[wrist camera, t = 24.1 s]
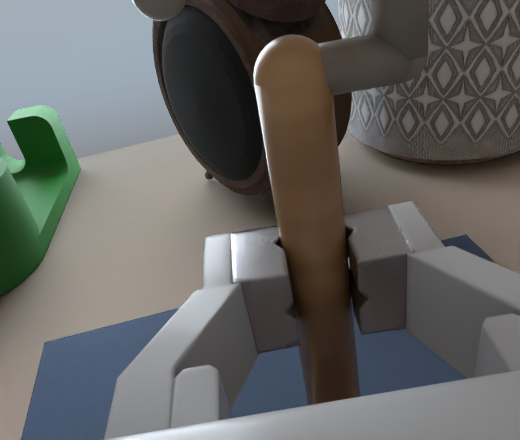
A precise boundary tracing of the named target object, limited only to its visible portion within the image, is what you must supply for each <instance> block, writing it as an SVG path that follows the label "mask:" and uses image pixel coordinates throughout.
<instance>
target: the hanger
mask: <svg viewBox="0 0 520 440" xmlns="http://www.w3.org/2000/svg"><path fill="white" fill-rule="evenodd" d="M186 1H187V0H133V2H134V4H135V6H136V7H137V9H138V10H139V11H140V12H141V13H142V14H143V15H145V16H146V17H148V18H150V19H153V20H157V21H165V20H169V19H172V18H174V17H176V16H177V15H178V14H179V13H180V12H181V11H182V10H183V8H184V6H185V4H186ZM371 7H372V28H373V33H372V34H367V35H361V36H356V37H351V38H345V39H340V40H334V41H329V42H323V43H318V44H317V43H316V42H315V41H313V40H311V39H310V38H307V37H305V36H302V35H294V34H291V35H284V36H281V37H278V38H276V39H274V40H272V41H271V42H270V43H269V44H267V45H266V46H265V47H264V49H263V50H262V51H261V52H260V54H259V56H258V58H257V60H256V63H255V67H254V74H253V77H254V86H255V92H256V98H257V104H258V110H259V116H260V122H261V128H262V134H263V140H264V146H265V152H266V158H267V164H268V170H269V176H270V182H271V188H272V194H273V199H274V205H275V211H276V217H277V223H278V229H279V235H280V241H281V247H282V249H284V250H285V256H286V261H287V267H288V272H289V277H290V283H291V289H292V295H293V300H294V308H295V314H296V319H297V325H298V332H299V338H300V345H301V346H298V348H299V354H300V360H301V366H302V372H303V378H304V384H305V390H306V396H307V402H308V405H314V404H320V403H325V402H331V401H337V400H343V399H349V398H355V397H360V386H359V375H358V364H357V353H356V342H355V330H354V319H353V308H352V297H351V286H350V275H349V264H348V253H347V242H346V231H345V220H344V209H343V198H342V187H341V176H340V165H339V154H338V143H337V132H336V121H335V109H334V98H333V95H338V94H344V93H349V92H355V91H360V90H366V89H371V88H377V87H382V86H388V85H393V84H399V83H404V82H408V81H410V80H412V79H414V78H415V77H417V76H418V75H419V74H420V73H421V72H422V70H423V69H424V67H425V65H426V62H427V59H428V0H371Z"/></svg>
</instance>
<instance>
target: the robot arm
mask: <svg viewBox="0 0 520 440" xmlns="http://www.w3.org/2000/svg"><path fill="white" fill-rule="evenodd" d="M344 220H345V231H346V242H347V253H348V264H349V275H350V286H351V297H352V305H353V312H354V315H355V318H356V321H357V323H358V326H359V329H360V332H361V335H366V334H373V333H380V332H387V331H394V330H401V329H406V331H407V332H408V333H409V334H411V335H412V336H413V337H414V338H416V339H417V340H418V341H420V342H421V343H422V344H424V345H425V346H426V347H427V348H429V349H430V350H431V351H433V352H434V353H435V354H436V355H438V356H439V357H440V358H442V359H443V360H444V361H446V362H447V363H448V364H449V365H451V366H452V367H453V368H455V369H456V370H457V371H458V372H460V373H461V374H462V375H464V376H465V377H466V378H468V379H463V380H457V381H451V382H445V383H439V384H433V385H427V386H421V387H415V388H409V389H403V390H397V391H391V392H385V393H379V394H373V395H367V396H361V397H355V398H349V399H343V400H337V401H331V402H325V403H320V404H314V405H308V406H302V407H296V408H290V409H284V410H278V411H272V412H266V413H260V414H254V415H248V416H242V417H236V418H233V416H232V413H231V408H232V406H233V404H234V403H235V401H236V399H237V397H238V395H239V393H240V391H241V389H242V387H243V385H244V383H245V381H246V379H247V377H248V375H249V373H250V371H251V369H252V368H253V366H254V364H255V362H256V360H257V358H258V354H260V353H265V352H270V351H275V350H281V349H286V348H291V347H296V346H301V345H300V338H299V332H298V325H297V319H296V314H295V308H294V300H293V295H292V289H291V283H290V277H289V272H288V267H287V261H286V256H285V250H284V249H282V247H281V241H280V235H279V229H278V225H277V226H271V227H264V228H258V229H252V230H245V231H239V232H232V233H231V234H230V233H226V234H220V235H214V236H209V237H206V239H205V241H204V266H203V289H200V290H195V291H194V293H193V294H192V295H191V296H190V297H189V298H188V299H187V300H186V302H185V303H184V304H183V305H182V306H181V307H180V308H179V309H178V310H177V312H176V313H175V314H174V315H173V316H172V317H171V318H170V319H169V321H168V322H167V323H166V324H165V325H164V326H163V327H162V328H161V330H160V331H159V332H158V333H157V334H156V335H155V336H154V337H153V339H152V340H151V341H150V342H149V343H148V344H147V345H146V346H145V347H144V349H143V350H142V351H141V352H140V353H139V354H138V355H137V356H136V358H135V359H134V360H133V361H132V362H131V363H130V364H129V365H128V367H127V368H126V369H125V370H124V371H123V372H122V373H121V374H120V376H119V377H118V378H117V382H116V386H115V391H114V395H113V400H112V405H111V409H110V414H109V418H108V423H107V427H106V432H105V437H104V440H520V274H519V273H516V272H514V271H512V270H509V269H507V268H505V267H502V266H500V265H497V264H495V263H493V262H490V261H488V260H486V259H483V258H481V257H478V256H476V255H474V254H471V253H469V252H467V251H464V250H462V249H459V248H457V247H455V246H448V247H445V246H444V244H443V243H442V241H441V240H440V239H439V237H438V236H437V234H436V233H435V231H434V230H433V229H432V227H431V226H430V224H429V223H428V221H427V220H426V219H425V217H424V216H423V214H422V213H421V211H420V210H419V209H418V207H417V206H416V204H415V203H414V202H412V201H407V202H402V203H397V204H392V205H388V206H385V207H380V208H374V209H369V210H364V211H359V212H354V213H349V214H344Z"/></svg>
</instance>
